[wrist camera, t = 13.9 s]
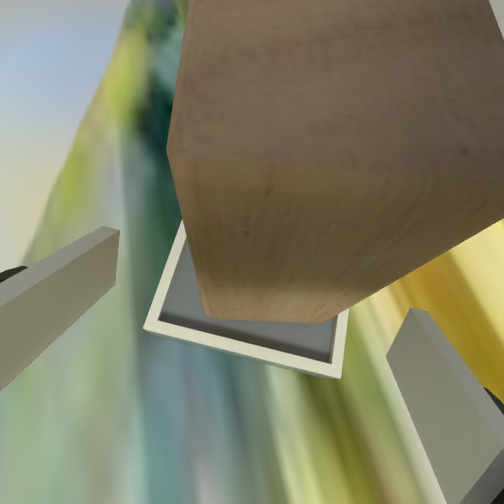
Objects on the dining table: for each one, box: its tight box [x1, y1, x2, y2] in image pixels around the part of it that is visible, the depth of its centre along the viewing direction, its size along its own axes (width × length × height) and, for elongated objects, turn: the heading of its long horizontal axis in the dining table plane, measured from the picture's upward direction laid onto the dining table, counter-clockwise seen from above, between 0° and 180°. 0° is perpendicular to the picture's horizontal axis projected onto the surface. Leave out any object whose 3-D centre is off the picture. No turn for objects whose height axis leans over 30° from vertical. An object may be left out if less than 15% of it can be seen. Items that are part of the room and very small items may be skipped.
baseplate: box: [143, 219, 349, 379], centre depth 29 cm, size 15×15×4 cm
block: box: [166, 0, 504, 323], centre depth 18 cm, size 10×10×20 cm
